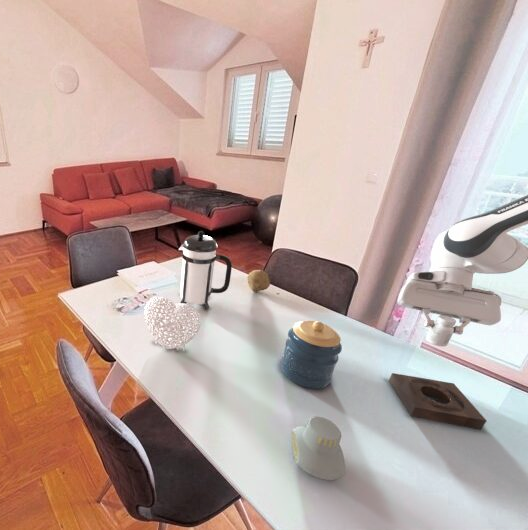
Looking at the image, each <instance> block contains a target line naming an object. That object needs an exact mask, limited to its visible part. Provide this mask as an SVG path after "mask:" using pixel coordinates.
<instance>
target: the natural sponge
mask: <svg viewBox="0 0 528 530" xmlns="http://www.w3.org/2000/svg"><path fill="white" fill-rule="evenodd" d="M247 284H248V287H249V288H250V290H251V292H252V293H253V292H254V293H259V292H261V291H265V290H267V289H269V287H270V286H271V280H270V277H269V275H268V274H267V273H266V271H264V270H262V269H254V270H252V271H250V272H249V273H248V274H247Z"/></svg>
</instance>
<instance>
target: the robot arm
mask: <svg viewBox="0 0 528 530" xmlns="http://www.w3.org/2000/svg"><path fill="white" fill-rule="evenodd" d="M526 225H528V194H527V195H524V196H522V197H520V198H517V199H515V200H513V201H510V202H508V203H506V204H504V205H501V206H499V207H496V208H493V209H491V210H489V211H486V212H484V213H481V214H477V215H473V216H470V217H466V218H464V219H462V220H459V221H457V222H455V223H453V224H452V225H451V226H450V227H449V228H448V229H447V230H446V231H443V232H442V233H440V234H439V235H438V236H437V237H436V239H435V241H434V243H433V246H432V249H431V253H430V263H431V265H430V268H429V270H428V271H415V272H413V273H411V274H410V275H409V276H408V277H407V278H406V281H405V284H404V285H403V286H402V287H401V289H400V290H399V293H398V297H397V301H396V303H397V304H398V306H399V307H402V308H406V309H412V310H416V311H420V316H421V318H422V319H423V321H424V324H423V326H424V327H426V328H429V329H430V328H432V327H433V326H434V324H433V323H434V322H435V320H434V319H431V317H430V316H429V315H430V314H435V315H438V316H440V315H445V316H449V317H451V318H453V319H457V320H458V321H459V325H454V326H453V327H454V332H453V334H456V335H463V333H464V328H465V327H467V326H468V325H469V324H470V323H476V324H479V325H484V326H489V327H490V326H494V325H497V324H498V323H500V321H501V319H502V311H501V306H502V297H501V296H500V295H499V294H497V293H495V292H494V291H493V290H484V289H480V288H477V287H473V278H474V274H475V273H476V274H489V275H490V274H491V275H493V274H494V275H495V274H496V275H497V274H507V273H512V272H514V271H516V270H518V269H520V268H521V267H523V266H524V265H525V263H526V262H527V261H528V247H527V246H526V245H525V244H523V243H522V242H521V241H519V239H517V238H515V237H514V236H512V235H510V234H509V233H508V232H511V231H513V230H516V229H518V228H522V227H523V226H526Z"/></svg>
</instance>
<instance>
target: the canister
mask: <svg viewBox="0 0 528 530" xmlns="http://www.w3.org/2000/svg"><path fill="white" fill-rule="evenodd" d="M287 337H288V338H287V339H286V341H285V347H284V350H283V354H282V356H281V360H280V369H281V371H282V373H283V375H284V376H285V377H286V378H287V379H289V380H290V381H291V382H293V383H294V384H296V385H298V386H300V387H304V388H307V389H311V390H320V389H324V388H326V387H328V385H329V384H330V383H331V382H332V379H333V375H334V371H335V368H336V365H337V363H338V361H339V354H341V353H342V350H343V346H342V343H341V336H340V334H339V333H338V332H337V331H336V330H334V329H333V328H332V327H330V326H329V325H328V324H325V323H323V322H322V321H320V320H301V321H297V322H295V323H294V324H293V326H292V328H290V329H289V330H288V331H287Z"/></svg>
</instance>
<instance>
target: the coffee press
mask: <svg viewBox="0 0 528 530" xmlns="http://www.w3.org/2000/svg"><path fill="white" fill-rule="evenodd" d="M217 250H218V244H217V241H216V240H215V239H214V238H213V237H211V236H208V235H205V231H203V230H200V231H198V232H197V234H194V235H189V236H187V237H186V238H185V239H184V240H183V242H182V244H181V245H180V247H178V251H181V252H182V253H181V254H182V255H181V257H182V262H181V263H182V264H181V277H180V287H179V289H180V290H179V296H180V298H181V301H180V302H179V303H184V304H189V305H197V306H198V305H199V306H200V305H202V306H203V308H204V310H208V309H209V308H210V305H209V301H210V299H211V295H212V294H222V293H224V292H226V291H227V290H228V288H229V286H230V282H231V275H232V267H233V266H232V261H231V259H230V258H229V257H228V256H226V255H224V254H217ZM216 260H220V261H223V262H225V264H226V271H225V279H224V282H223V286H221V287H220V288H214V287H212V285H213V279H214V277H213V276H214V271H215V269H214V268H215V263H216Z"/></svg>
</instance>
